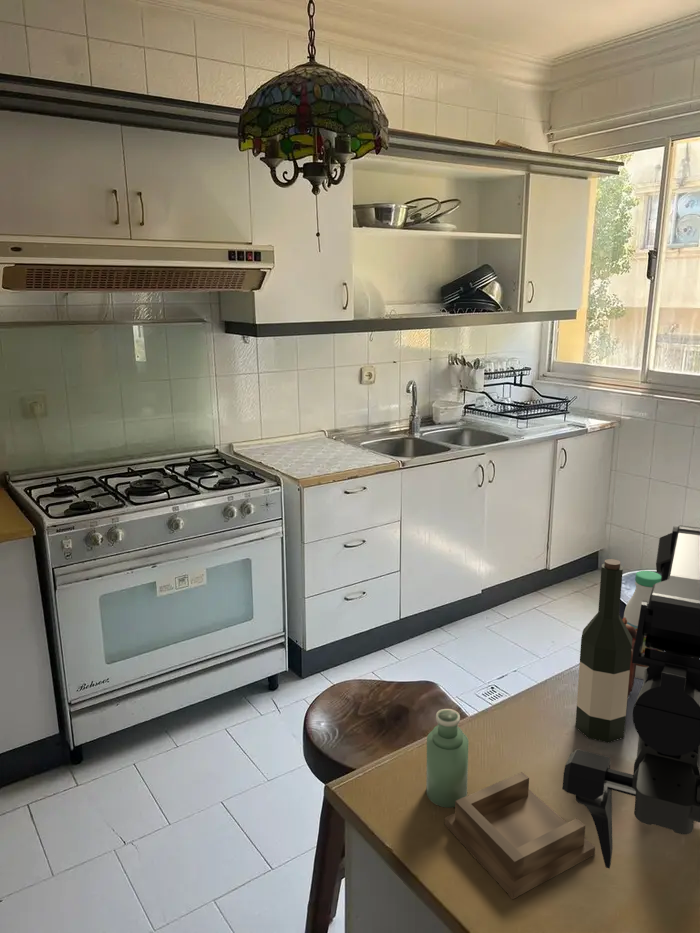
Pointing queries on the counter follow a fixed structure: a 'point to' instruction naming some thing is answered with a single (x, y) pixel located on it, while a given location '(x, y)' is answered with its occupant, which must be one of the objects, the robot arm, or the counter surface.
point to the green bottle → (447, 760)
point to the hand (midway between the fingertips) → (657, 882)
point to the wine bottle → (605, 663)
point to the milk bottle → (633, 607)
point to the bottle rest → (517, 835)
